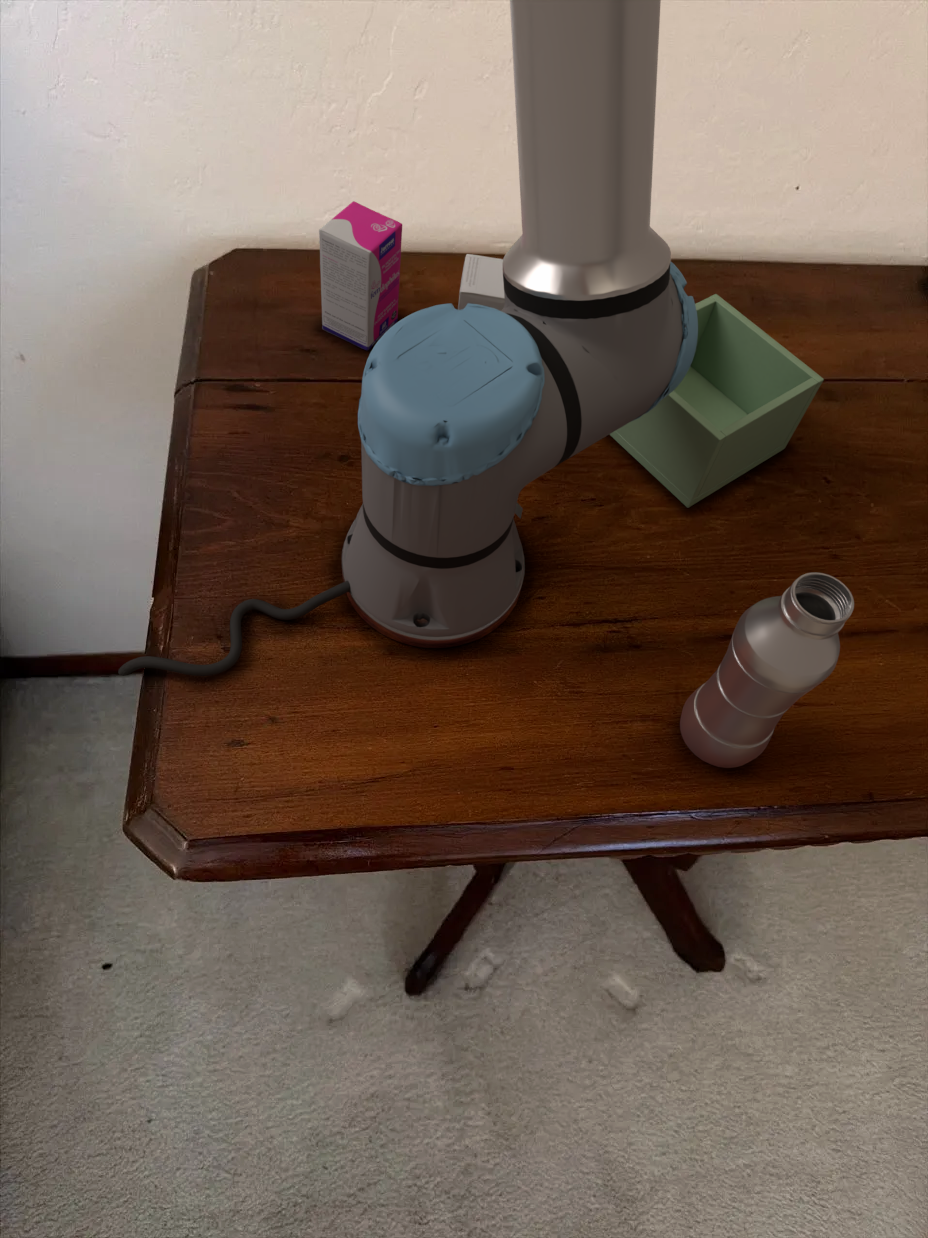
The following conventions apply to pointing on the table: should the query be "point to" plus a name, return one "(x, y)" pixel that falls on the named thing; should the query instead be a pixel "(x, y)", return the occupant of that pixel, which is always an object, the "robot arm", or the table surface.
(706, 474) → the green open box
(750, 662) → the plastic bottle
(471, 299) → the white cardboard box
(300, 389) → the table surface
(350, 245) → the supplement box
